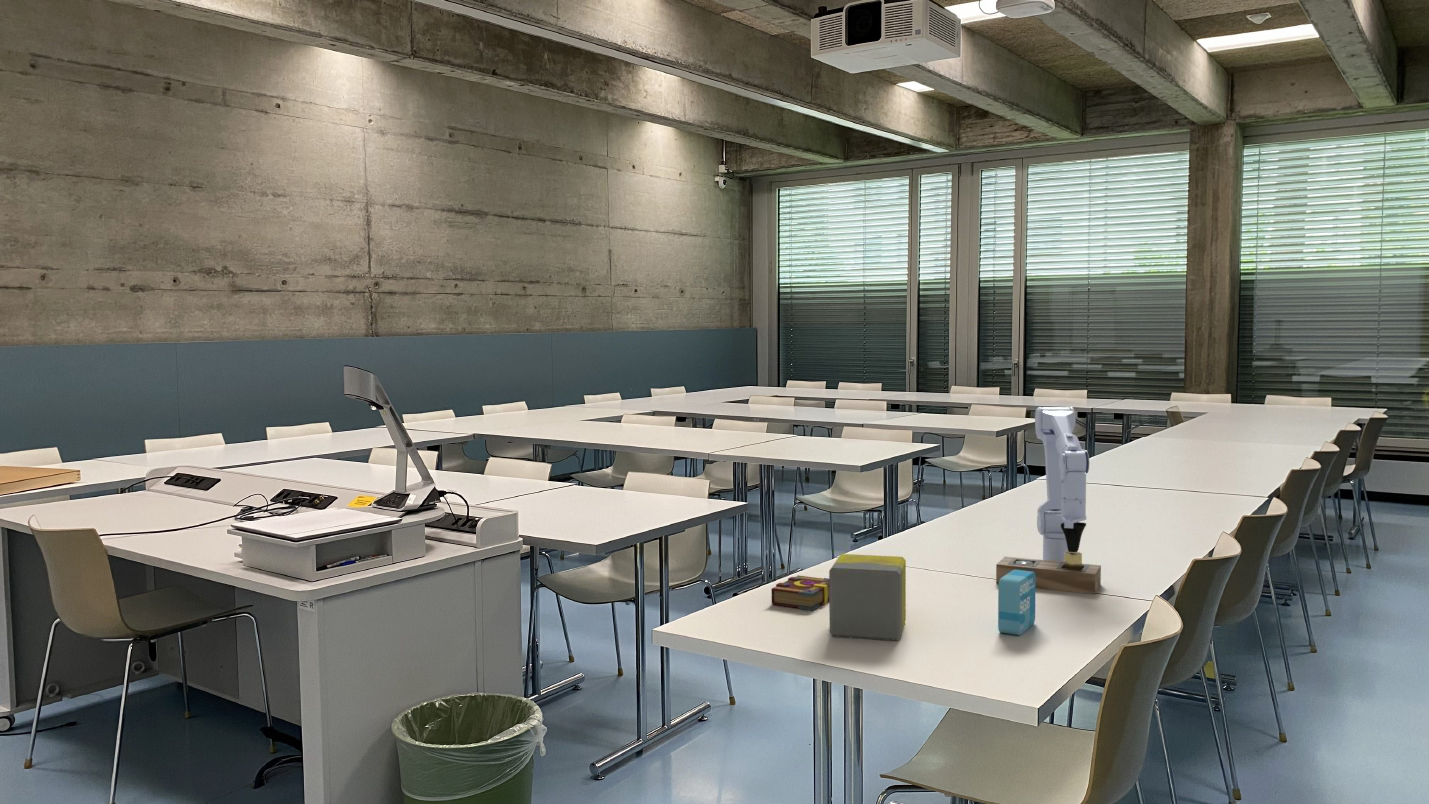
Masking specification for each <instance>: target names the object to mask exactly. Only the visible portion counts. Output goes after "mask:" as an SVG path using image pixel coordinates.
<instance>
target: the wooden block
mask: <svg viewBox="0 0 1429 804" xmlns="http://www.w3.org/2000/svg"><path fill="white" fill-rule="evenodd" d="M1016 561H1030V562H1032V563H1033V565H1025V564H1016ZM995 569H996V571H995V572H996V573H995V583H996V584H998V585H999V580H1000V579H1001V578H1002V577H1003V576H1005V575H1007V574H1008V573H1010V572H1011V571H1013V570H1023V571H1032V572H1034V573H1035V576H1036V585H1035V589H1043V590H1054V591H1064V592H1073V593H1082V594H1090V595H1092V594H1093V595H1096V593H1097V591H1098V590H1099V588H1100V587H1101V586H1102V583H1101V582H1102V581H1101V578H1102V565H1099V564H1089V563H1082V570H1076V569H1066V568H1064V562H1059V561H1048V560H1043V559H1035V558H1027V557H1025V558H1024V557H1015V556H1014V557H1013V556H1004V557H1003V558H1002V559H1001V560H1000V561H998V562H997V563H996V567H995Z"/></svg>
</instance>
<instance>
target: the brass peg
mask: <svg viewBox="0 0 1429 804" xmlns="http://www.w3.org/2000/svg"><path fill="white" fill-rule="evenodd" d="M1082 564H1083V553H1082V552H1079V551H1078V552H1069V551H1068V552H1064V568H1066V569H1076V570H1082Z"/></svg>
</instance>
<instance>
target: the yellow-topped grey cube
mask: <svg viewBox="0 0 1429 804" xmlns="http://www.w3.org/2000/svg"><path fill="white" fill-rule="evenodd" d="M906 561H907V560H906V558H904V557H903V556H897V555H896V556H892V555H875V554H873V555H870V554H849V553H841V554H840V555H839V556H838V557H837V559H836V560H835V562H834V563H833V565H832V566H831V568H830V569H829V571H828V572H829V573H828V576H829V577H828V578H829V613H828V614H829V634H830V635H831V636H832V637H835V636H836V637H837V636H839V637H838V638H849V637H852V638H854V639H865V640H880V641H881V640H883V641H893V642H896V641H899V640H900V638H901V635H902V632H903V629H904V628H905V627H904V626H905V623H906V619H907V618H906V616H907V615H906V612H907V609H906V608H907V607H906V606H907V605H906V602H907V595H906V594H907V591H906V589H907V588H906V587H907V586H906V585H907V583H906V581H907V580H906V579H907V578H906V577H907V574H906V573H907V571H906V565H907V562H906Z"/></svg>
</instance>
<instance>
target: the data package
mask: <svg viewBox="0 0 1429 804" xmlns="http://www.w3.org/2000/svg"><path fill="white" fill-rule="evenodd" d="M1035 585H1036V576H1035V573H1034V572H1032V571H1023V570H1013V571H1011V572H1010V573H1008V574H1007V575H1005V576H1003V577H1002V578H1001V579H1000V580H999V584H998V588H997V589H998V591H997V593H998V595H997V598H998V600H997V601H998V605H997V606H998V607H997V609H998V610H997V628H998V632H999V633H1001V634H1008V635H1014V636H1021V635H1022V634H1023V633H1025V632H1026V631H1028V630H1029V628H1031V627H1032V626H1033V625H1034V624H1035V621H1036V588H1035Z"/></svg>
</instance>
